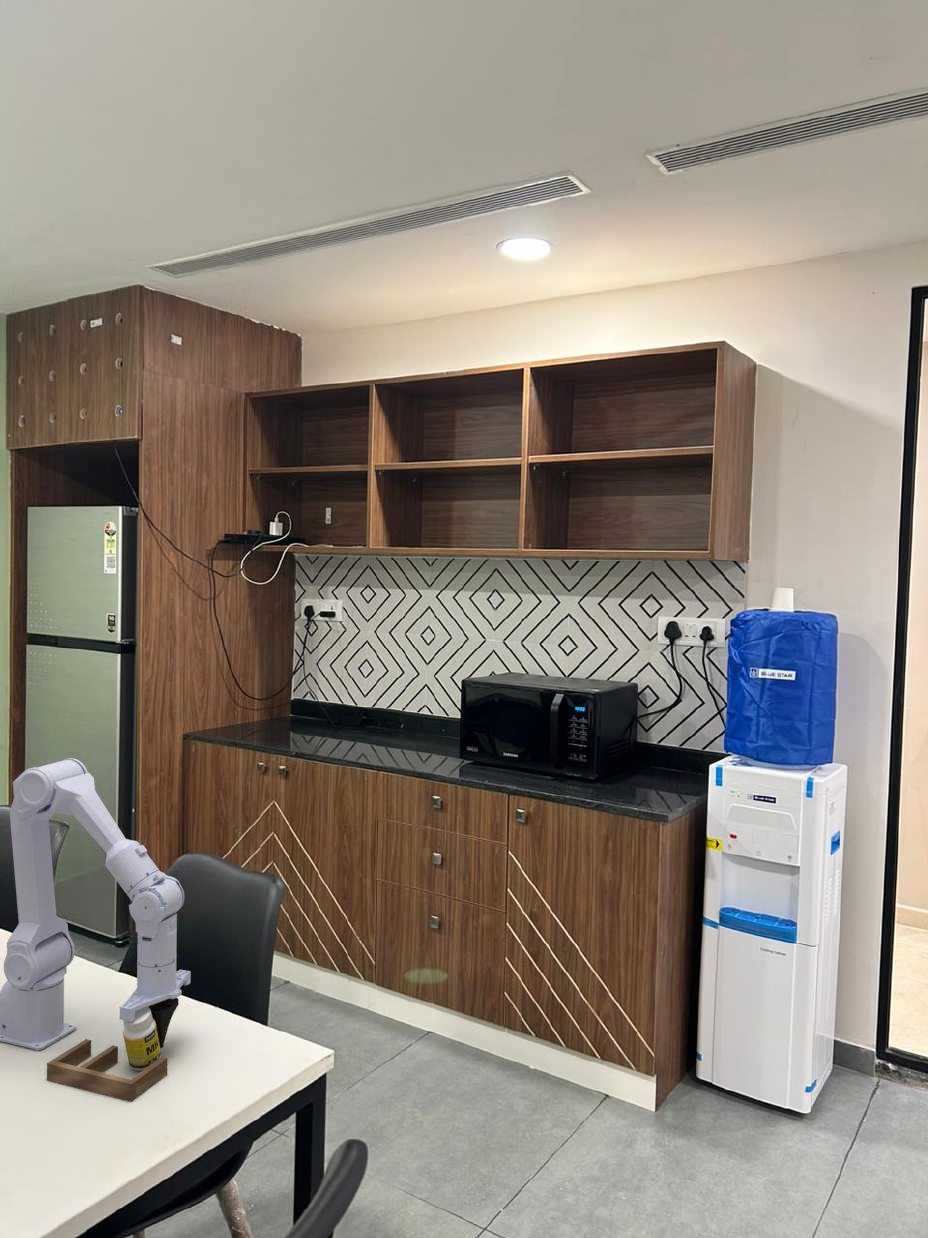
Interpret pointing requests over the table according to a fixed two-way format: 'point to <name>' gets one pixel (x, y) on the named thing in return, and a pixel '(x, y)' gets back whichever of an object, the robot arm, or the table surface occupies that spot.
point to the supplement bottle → (141, 1040)
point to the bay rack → (93, 1076)
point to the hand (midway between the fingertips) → (156, 1047)
